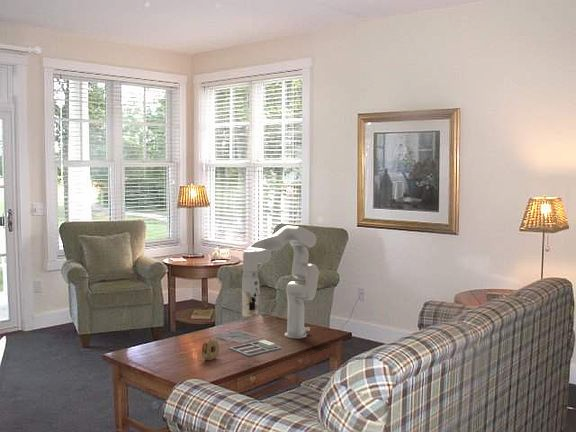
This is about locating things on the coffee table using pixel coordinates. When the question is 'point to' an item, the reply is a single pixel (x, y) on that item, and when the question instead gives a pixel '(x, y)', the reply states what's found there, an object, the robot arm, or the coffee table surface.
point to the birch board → (245, 306)
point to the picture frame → (238, 336)
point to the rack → (252, 350)
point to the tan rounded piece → (206, 348)
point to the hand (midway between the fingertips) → (249, 308)
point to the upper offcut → (266, 344)
